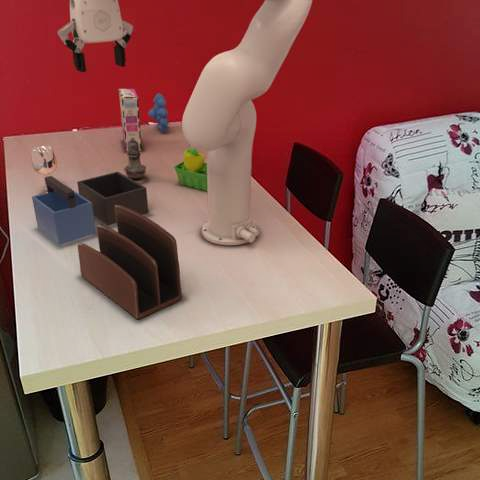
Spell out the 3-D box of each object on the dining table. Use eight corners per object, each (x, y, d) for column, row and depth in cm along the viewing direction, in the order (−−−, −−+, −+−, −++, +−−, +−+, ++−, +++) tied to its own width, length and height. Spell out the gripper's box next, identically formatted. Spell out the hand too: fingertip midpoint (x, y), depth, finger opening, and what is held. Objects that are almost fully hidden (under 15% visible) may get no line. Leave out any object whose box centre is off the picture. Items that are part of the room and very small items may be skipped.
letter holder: (124, 260, 120) (117, 197, 112) (183, 300, 108) (179, 233, 101) (80, 277, 114) (70, 212, 106) (137, 321, 102) (130, 251, 95)
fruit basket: (224, 184, 156) (224, 144, 150) (206, 195, 149) (205, 153, 144) (189, 176, 161) (187, 136, 155) (170, 186, 154) (168, 145, 148)
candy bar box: (143, 151, 176) (138, 96, 168) (126, 152, 175) (120, 97, 166) (139, 139, 185) (134, 87, 177) (123, 140, 184) (117, 88, 175)
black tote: (148, 215, 138) (146, 187, 135) (108, 227, 132) (104, 199, 128) (120, 197, 146) (117, 171, 143) (81, 208, 140) (77, 181, 136)
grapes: (146, 126, 197) (143, 90, 191) (165, 125, 200) (163, 89, 193) (152, 136, 188) (150, 99, 182) (173, 135, 190) (171, 98, 184)
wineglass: (66, 192, 148) (59, 146, 142) (53, 200, 143) (45, 154, 137) (46, 189, 149) (38, 144, 143) (33, 197, 145) (24, 151, 138)
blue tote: (96, 235, 129) (89, 187, 123) (59, 247, 124) (50, 197, 117) (73, 218, 135) (66, 172, 129) (38, 229, 130) (28, 181, 124)
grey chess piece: (135, 186, 153) (131, 142, 147) (120, 180, 156) (115, 137, 150) (151, 180, 157) (148, 137, 151) (137, 174, 160) (133, 132, 154)
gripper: (60, -15, 112) (73, 76, 121) (137, -18, 122) (144, 66, 131) (42, -18, 116) (56, 70, 125) (118, -21, 127) (126, 61, 136)
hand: (101, 68), depth 128 cm, fingers open, 9 cm apart
